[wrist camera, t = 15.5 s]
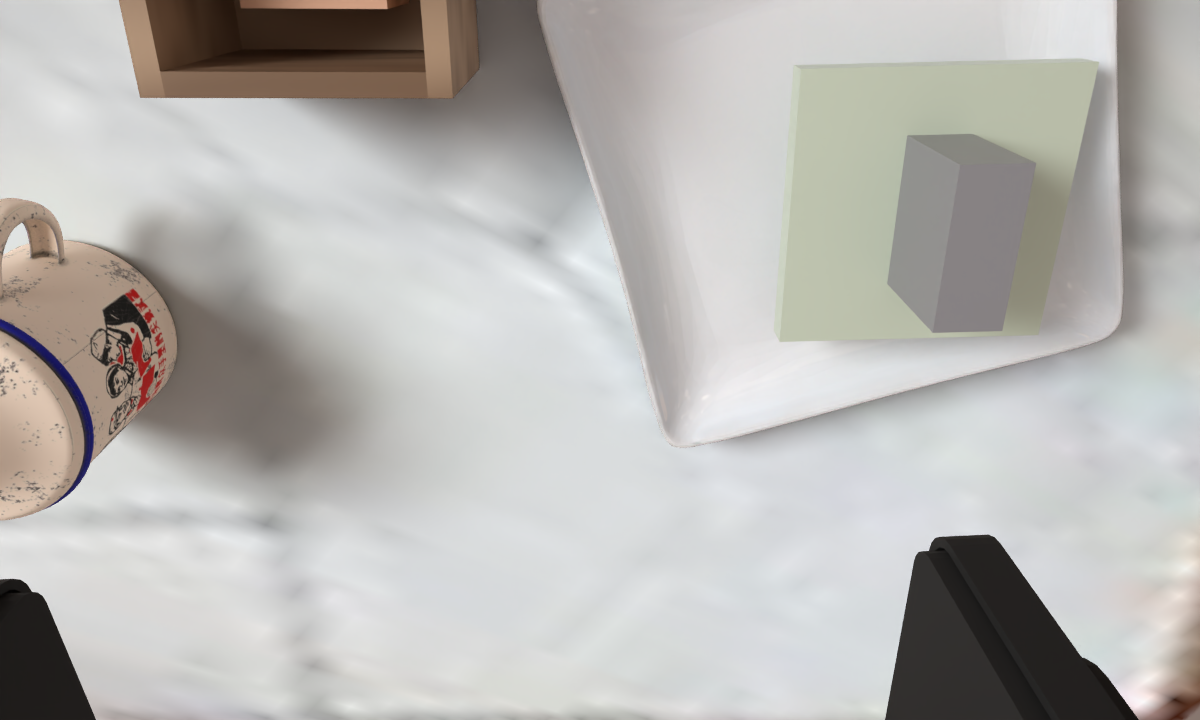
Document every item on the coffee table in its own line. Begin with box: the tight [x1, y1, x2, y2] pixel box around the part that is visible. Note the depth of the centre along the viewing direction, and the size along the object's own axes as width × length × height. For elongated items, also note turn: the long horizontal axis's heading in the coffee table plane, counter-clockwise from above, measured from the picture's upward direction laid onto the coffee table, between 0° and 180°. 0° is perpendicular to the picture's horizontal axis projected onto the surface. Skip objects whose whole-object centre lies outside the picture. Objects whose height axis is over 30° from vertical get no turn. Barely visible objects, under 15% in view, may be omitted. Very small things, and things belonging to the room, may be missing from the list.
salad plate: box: [537, 0, 1124, 448], centre depth 36 cm, size 21×21×3 cm
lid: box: [774, 58, 1099, 342], centre depth 32 cm, size 11×11×6 cm
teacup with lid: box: [0, 198, 177, 520], centre depth 33 cm, size 12×9×12 cm
